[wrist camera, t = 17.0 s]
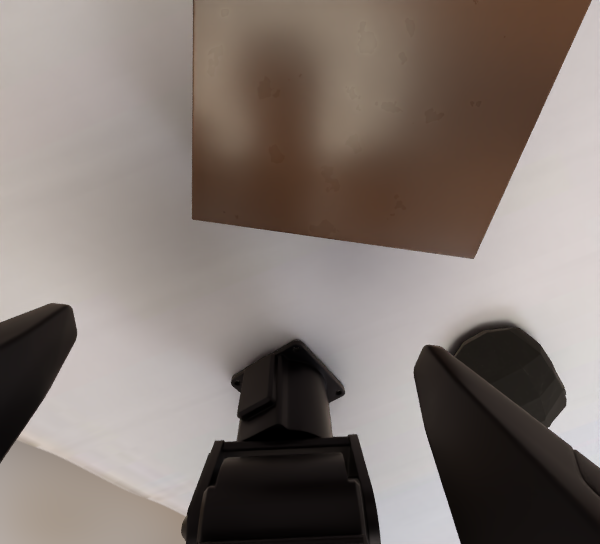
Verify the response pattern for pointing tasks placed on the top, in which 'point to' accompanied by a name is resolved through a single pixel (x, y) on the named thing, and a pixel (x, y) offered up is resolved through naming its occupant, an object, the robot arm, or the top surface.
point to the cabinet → (369, 113)
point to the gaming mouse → (516, 370)
